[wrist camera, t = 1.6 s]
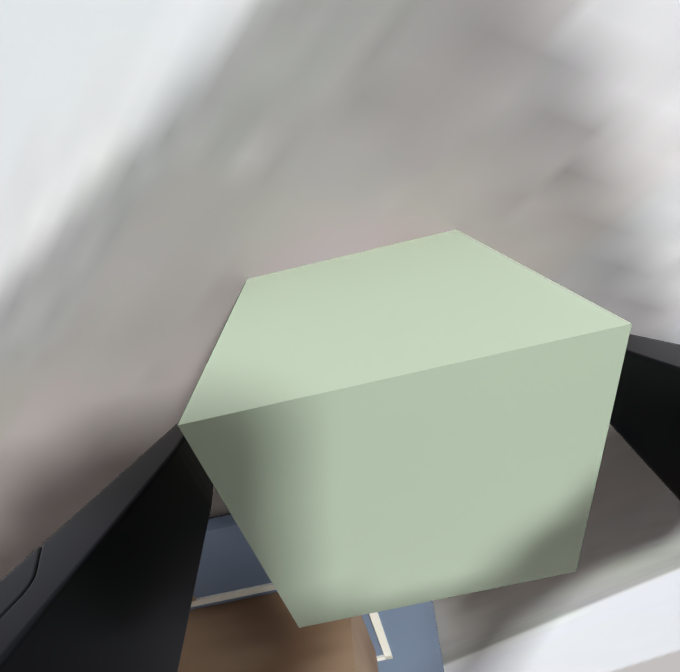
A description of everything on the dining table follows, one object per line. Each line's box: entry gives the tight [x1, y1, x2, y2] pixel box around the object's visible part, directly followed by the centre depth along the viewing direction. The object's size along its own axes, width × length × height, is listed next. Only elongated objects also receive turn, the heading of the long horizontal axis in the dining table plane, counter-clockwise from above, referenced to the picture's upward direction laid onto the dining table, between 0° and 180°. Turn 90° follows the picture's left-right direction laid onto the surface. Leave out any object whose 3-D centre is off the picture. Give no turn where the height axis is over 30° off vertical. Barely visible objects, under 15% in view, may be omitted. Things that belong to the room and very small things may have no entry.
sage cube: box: [178, 230, 632, 628], centre depth 8 cm, size 6×6×6 cm
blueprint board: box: [190, 514, 444, 672], centre depth 17 cm, size 15×18×1 cm
